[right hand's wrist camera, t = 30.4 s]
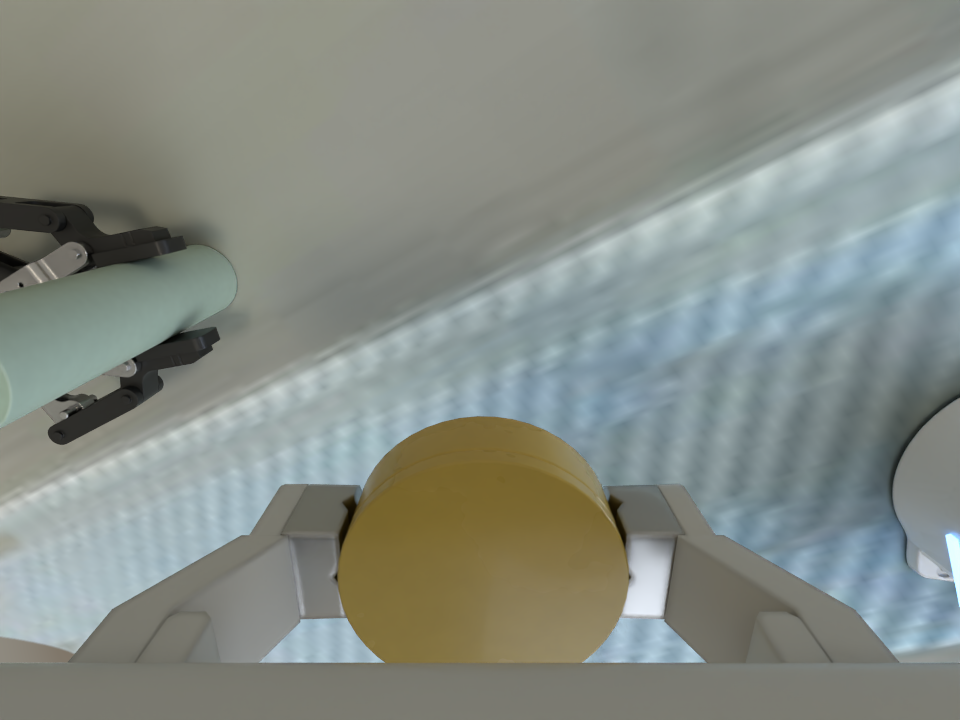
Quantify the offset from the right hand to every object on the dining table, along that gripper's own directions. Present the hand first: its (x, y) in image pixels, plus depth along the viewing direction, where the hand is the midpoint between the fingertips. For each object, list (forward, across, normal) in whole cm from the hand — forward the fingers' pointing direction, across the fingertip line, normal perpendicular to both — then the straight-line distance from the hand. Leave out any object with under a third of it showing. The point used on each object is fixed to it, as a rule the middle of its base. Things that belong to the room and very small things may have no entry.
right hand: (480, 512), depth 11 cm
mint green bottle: (+24, +18, 0) cm, 30 cm away
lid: (-2, 0, 0) cm, 2 cm away
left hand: (+18, +15, 0) cm, 24 cm away
